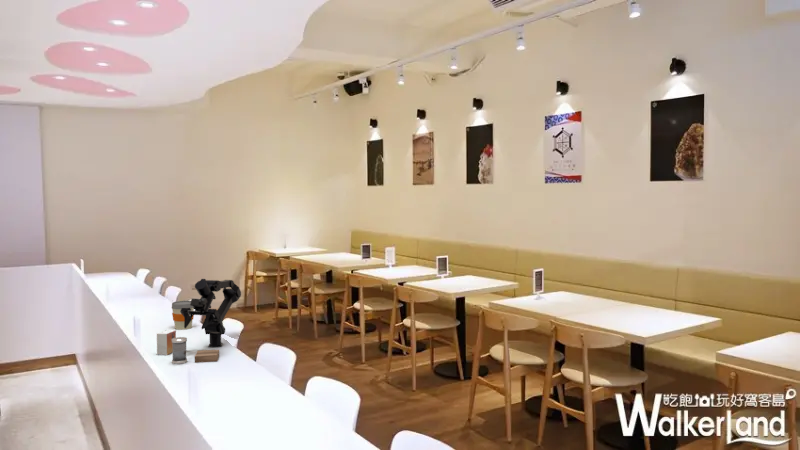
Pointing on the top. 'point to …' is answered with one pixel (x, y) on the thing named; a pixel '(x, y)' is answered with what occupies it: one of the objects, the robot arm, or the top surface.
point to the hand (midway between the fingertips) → (193, 328)
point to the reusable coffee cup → (177, 315)
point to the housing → (179, 350)
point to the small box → (165, 342)
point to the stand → (207, 356)
